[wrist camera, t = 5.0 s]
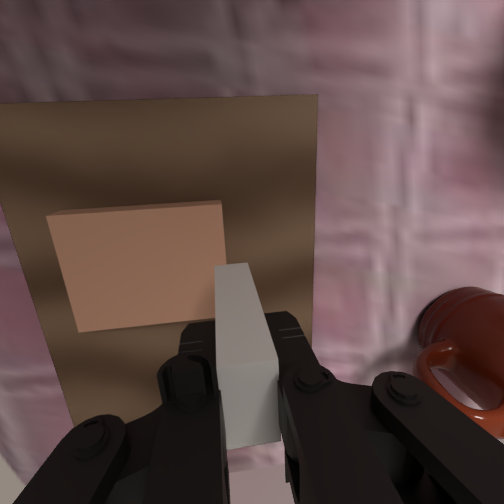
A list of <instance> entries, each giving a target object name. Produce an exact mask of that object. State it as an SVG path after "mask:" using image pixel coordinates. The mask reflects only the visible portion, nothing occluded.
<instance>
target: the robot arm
mask: <svg viewBox="0 0 504 504" xmlns="http://www.w3.org/2000/svg"><path fill="white" fill-rule="evenodd" d="M214 271H215V320H213V321H205V322H196V323H189V324H188V325H187V326H186V327H185V329H184V330H183V331H182V332H181V337H180V345H179V349H178V355H176V356H174V357H172V358H170V359H168V360H167V361H166V362H165V363H164V364H163V365H162V366H161V367H160V369H159V370H158V372H157V374H156V375H157V380H158V385H159V390H160V395H161V400H162V404H161V405H160V406H159V407H158V408H157V409H155V410H154V411H152V412H151V413H149V414H147V415H145V416H143V417H140V418H138V419H136V420H133V421H131V422H128V423H126V424H125V423H124V422H123V421H122V419H121V418H120V417H119V416H115V415H111V414H105V415H97V416H95V417H92V418H90V419H87V420H85V421H83V422H82V423H80V424H79V425H77V426H76V427H74V428H73V429H72V430H71V431H70V432H69V433H68V434H67V435H66V436H65V437H64V438H63V439H62V440H61V441H60V443H59V444H58V445H57V446H56V448H55V449H54V450H53V452H52V453H51V454H50V456H49V457H48V458H47V460H46V461H45V462H44V463H43V465H42V466H41V467H40V469H39V470H38V471H37V473H36V474H35V475H34V476H33V478H32V479H31V480H30V482H29V483H28V484H27V486H26V487H25V488H24V490H23V491H22V492H21V493H20V495H19V496H18V498H17V499H16V500H15V501H14V503H13V504H230V489H229V471H228V462H227V450H230V449H236V448H242V447H248V446H254V445H260V444H266V443H272V442H278V441H281V434H282V438H283V442H284V446H285V473H286V474H285V476H286V483H287V482H290V485H291V489H292V494H293V498H294V502H295V504H504V444H503V443H501V442H500V441H499V440H498V439H496V438H495V437H494V436H492V435H491V434H490V433H489V432H487V431H486V430H485V429H483V428H482V427H481V426H480V425H478V424H477V423H476V422H474V421H473V420H472V419H471V418H469V417H468V416H467V415H466V414H464V413H463V412H462V411H460V410H459V409H458V408H457V407H455V406H454V405H453V404H451V403H450V402H449V401H448V400H446V399H445V398H444V397H442V396H441V395H440V394H439V393H437V392H436V391H435V390H433V389H432V388H431V387H430V386H428V385H427V384H426V383H424V382H423V381H421V380H419V379H418V378H416V377H415V376H412V375H409V374H406V373H403V372H395V371H389V372H384V373H381V374H379V375H378V376H376V377H375V379H374V381H373V384H372V386H366V385H357V384H350V383H345V382H342V381H339V380H337V379H336V378H335V376H334V375H333V374H332V373H331V372H330V371H329V370H328V369H326V368H324V367H323V366H321V365H320V364H319V362H318V360H317V358H316V356H315V354H314V352H313V350H312V348H311V346H310V344H309V342H308V340H307V338H306V336H305V335H304V332H303V330H302V329H301V327H300V325H299V323H298V321H297V319H296V317H294V316H293V315H292V314H290V313H289V312H288V311H280V312H272V313H263V309H262V306H261V303H260V300H259V297H258V294H257V291H256V287H255V284H254V281H253V278H252V275H251V272H250V269H249V265H248V262H247V263H237V264H227V265H217V266H214Z"/></svg>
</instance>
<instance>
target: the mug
mask: <svg viewBox="0 0 504 504" xmlns="http://www.w3.org/2000/svg"><path fill="white" fill-rule="evenodd" d="M418 339H419V343H420V345H421V347H422V349H423V350H421V351H420V352H419V353H418V354H417V356H416V357H415V360H414V364H413V376H415V377H416V378H418V379H419V380H421V381H423V382H424V383H426V384H427V385H428V386H430V387H431V388H432V389H433V390H435V391H436V392H437V393H439V394H440V395H441V396H442V397H444V398H445V399H446V400H448V401H449V402H450V403H451V404H453V405H454V406H455V407H457V408H458V409H459V410H460V411H462V412H463V413H464V414H466V415H467V416H468V417H469V418H471V419H472V420H473V421H474V422H476V423H477V424H478V425H480V426H481V427H482V428H483V429H485V430H486V431H487V432H489V433H490V434H491V435H492V436H494V437H495V438H496V439H504V295H502V294H497V293H494V292H491V291H488V290H485V289H482V288H478V287H462V288H458V289H455V290H452V291H450V292H448V293H446V294H444V295H443V296H441V297H440V298H438V299H437V300H436V301H435V302H434V303H433V304H432V305H431V306H430V307H429V308H428V309H427V310H426V312H425V313H424V315H423V317H422V320H421V322H420V326H419V332H418ZM431 369H438V370H439V371H440V372H441V373H443V374H444V375H445V376H446V377H447V378H448V379H449V380H451V381H452V382H453V383H454V384H455V385H456V386H457V387H458V388H459V389H460V390H461V391H462V392H463V393H465V394H466V395H467V396H468V397H469V398H470V399H471V400H473V401H474V402H475V403H476V404H477V405H478V406H479V407H481V408H482V409H483V410H477V409H473V408H469V407H467V406H465V405H463V404H462V403H460V402H459V401H457V400H456V399H455V398H454V397H452V396H451V395H450V394H449V393H448V392H447V391H446V390H445V388H444V387H443V386H442V385H441V384H440V383H439V382H438V380H437V379H436V378H435V376H434V375H433V374H432V372H431Z"/></svg>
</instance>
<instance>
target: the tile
mask: <svg viewBox="0 0 504 504" xmlns="http://www.w3.org/2000/svg"><path fill="white" fill-rule="evenodd" d="M46 218H47V222H48V226H49V229H50V233H51V236H52V240H53V243H54V247H55V250H56V254H57V257H58V261H59V265H60V268H61V272H62V275H63V279H64V282H65V286H66V289H67V293H68V296H69V300H70V304H71V307H72V311H73V314H74V318H75V321H76V325H77V328H78V332H88V331H98V330H107V329H116V328H125V327H135V326H144V325H153V324H162V323H172V322H181V321H190V320H199V319H209V318H215V271H214V266H217V265H227V264H226V252H225V239H224V227H223V214H222V203H221V200H210V201H195V202H180V203H164V204H149V205H134V206H119V207H103V208H88V209H73V210H60V211H58V212H55V213H53V214H50V215H47V216H46Z"/></svg>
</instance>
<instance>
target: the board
mask: <svg viewBox="0 0 504 504" xmlns="http://www.w3.org/2000/svg"><path fill="white" fill-rule="evenodd" d="M317 117H318V94H315V95H280V96H245V97H209V98H174V99H139V100H104V101H69V102H34V103H0V202H1V205H2V209H3V212H4V215H5V218H6V221H7V224H8V227H9V230H10V233H11V236H12V239H13V242H14V245H15V248H16V251H17V254H18V257H19V260H20V263H21V266H22V269H23V272H24V275H25V279H26V282H27V285H28V288H29V291H30V294H31V297H32V300H33V303H34V306H35V309H36V312H37V315H38V318H39V321H40V324H41V327H42V330H43V333H44V336H45V339H46V342H47V345H48V348H49V352H50V355H51V358H52V361H53V364H54V367H55V370H56V373H57V376H58V379H59V382H60V385H61V388H62V391H63V394H64V397H65V400H66V403H67V406H68V409H69V412H70V415H71V418H72V422H73V425H74V427H76V426H77V425H79V424H80V423H82V422H83V421H85V420H87V419H90V418H92V417H95V416H97V415H105V414H111V415H115V416H119V417H120V418H121V419H122V421H123V422H124V423H125V424H126V423H128V422H131V421H133V420H136V419H138V418H140V417H143V416H145V415H147V414H149V413H151V412H152V411H154V410H155V409H157V408H158V407H159V406H160V405H161V404H162V400H161V395H160V390H159V385H158V380H157V375H156V374H157V372H158V370H159V369H160V367H161V366H162V365H163V364H164V363H165V362H166V361H167V360H168V359H170V358H172V357H174V356H176V355H178V349H179V345H180V337H181V332H182V331H183V330H184V329H185V327H186V326H187V325H188V324H189V323H196V322H205V321H213V320H215V318H209V319H199V320H190V321H181V322H172V323H162V324H153V325H144V326H135V327H125V328H116V329H107V330H98V331H88V332H78V328H77V325H76V321H75V318H74V314H73V311H72V307H71V304H70V300H69V296H68V293H67V289H66V286H65V282H64V279H63V275H62V272H61V268H60V265H59V261H58V257H57V254H56V250H55V247H54V243H53V240H52V236H51V233H50V229H49V226H48V222H47V218H46V216H47V215H50V214H53V213H55V212H58V211H60V210H73V209H88V208H103V207H119V206H134V205H149V204H164V203H180V202H195V201H210V200H221V203H222V214H223V227H224V239H225V252H226V264H237V263H247V262H248V265H249V269H250V272H251V275H252V278H253V281H254V284H255V287H256V291H257V294H258V297H259V300H260V303H261V306H262V309H263V313H272V312H280V311H288V312H289V313H290V314H292V315H293V316H294V317H296V319H297V321H298V323H299V325H300V327H301V329H302V330H303V332H304V335H305V336H306V338H307V340H308V342H309V344H310V346H311V348H312V312H313V273H314V234H315V195H316V156H317Z"/></svg>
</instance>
